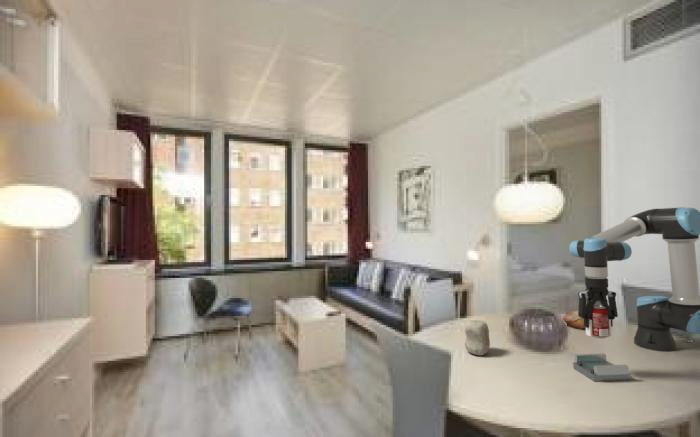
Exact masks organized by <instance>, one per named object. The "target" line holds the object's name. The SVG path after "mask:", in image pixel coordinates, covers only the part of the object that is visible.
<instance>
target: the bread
mask: <svg viewBox="0 0 700 437" xmlns="http://www.w3.org/2000/svg"><path fill="white" fill-rule="evenodd" d="M578 310H579V308H578V309H575V310H574V309H573V310H569V311H568V312H567V313H565V315H563V317H562V319H563V320H564V321H565V322H566V323H567V325H568V326H567V327H569V328H572V329H577V330H581V331H582V330H583V331H586V327H584V319H583V318H581V317H579V316H578Z"/></svg>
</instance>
